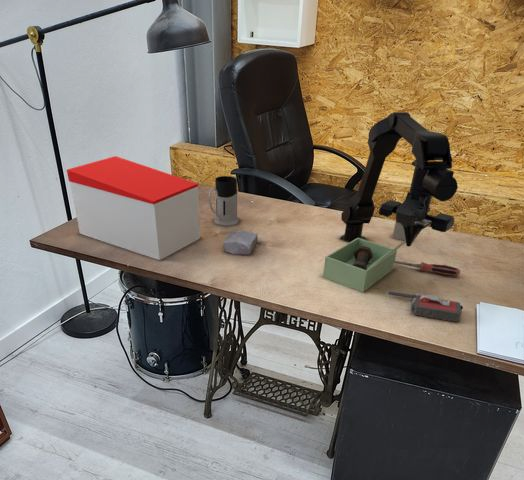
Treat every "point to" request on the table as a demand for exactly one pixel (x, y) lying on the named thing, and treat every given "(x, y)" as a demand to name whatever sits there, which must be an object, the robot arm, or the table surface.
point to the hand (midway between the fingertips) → (408, 246)
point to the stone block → (240, 242)
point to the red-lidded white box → (135, 206)
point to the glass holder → (225, 200)
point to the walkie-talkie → (432, 306)
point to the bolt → (362, 257)
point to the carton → (354, 277)
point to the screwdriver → (434, 268)
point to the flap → (387, 254)
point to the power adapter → (398, 232)
